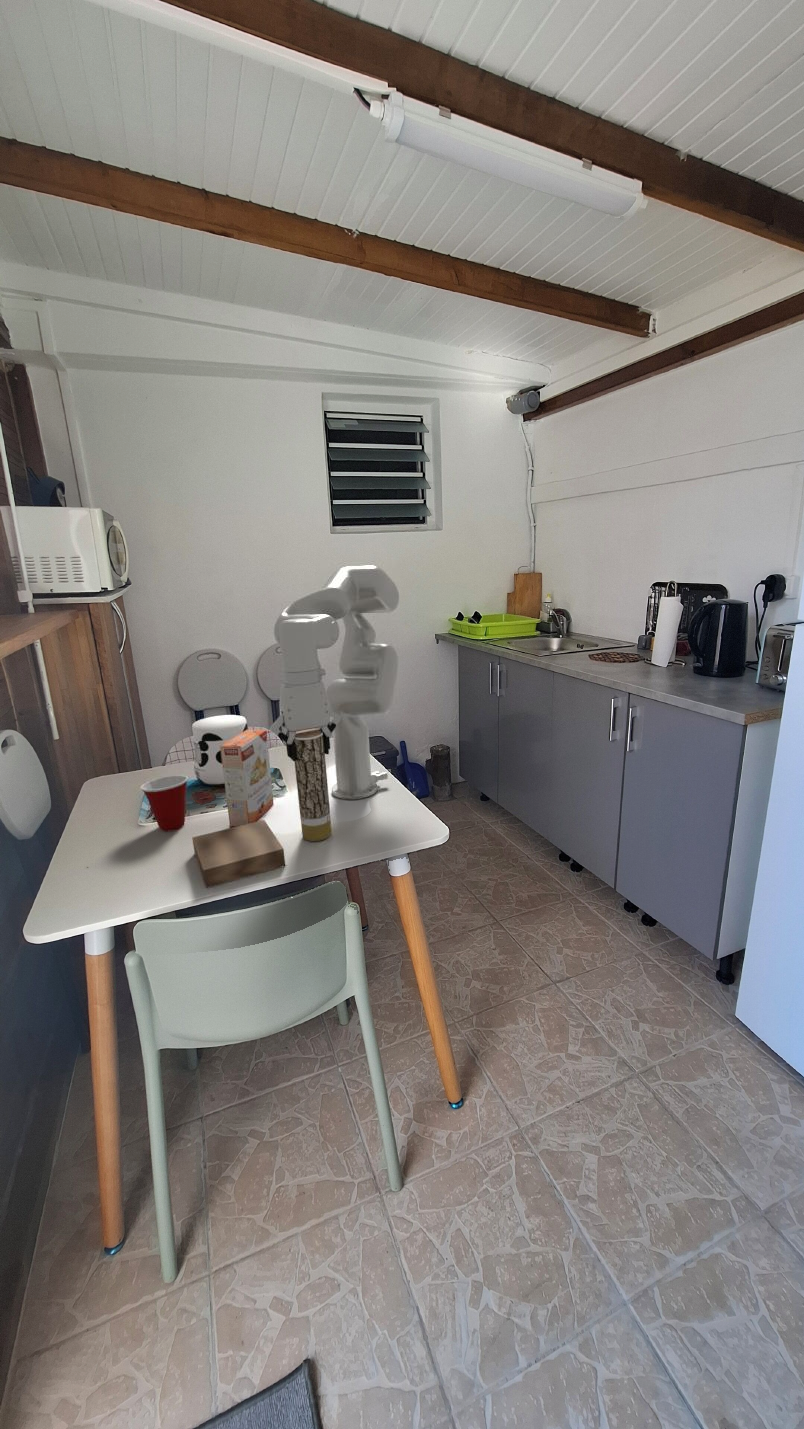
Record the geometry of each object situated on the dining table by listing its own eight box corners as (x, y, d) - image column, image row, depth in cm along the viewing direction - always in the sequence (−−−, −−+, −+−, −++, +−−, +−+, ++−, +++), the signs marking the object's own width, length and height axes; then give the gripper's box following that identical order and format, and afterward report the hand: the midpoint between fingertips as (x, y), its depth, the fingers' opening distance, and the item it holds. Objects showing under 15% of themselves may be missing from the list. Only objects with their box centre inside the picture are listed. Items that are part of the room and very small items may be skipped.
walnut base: (266, 835, 130) (264, 819, 129) (285, 865, 117) (283, 848, 116) (194, 853, 123) (192, 837, 122) (206, 888, 110) (203, 870, 109)
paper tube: (307, 845, 125) (296, 739, 118) (298, 833, 130) (287, 731, 124) (336, 837, 128) (327, 733, 121) (326, 826, 133) (316, 726, 127)
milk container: (266, 770, 173) (260, 714, 168) (238, 792, 157) (230, 731, 152) (216, 767, 177) (209, 713, 172) (184, 789, 161) (175, 729, 156)
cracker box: (251, 828, 134) (241, 746, 129) (229, 827, 136) (217, 745, 130) (275, 804, 148) (267, 728, 142) (254, 803, 149) (245, 728, 143)
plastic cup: (183, 812, 145) (176, 769, 142) (202, 824, 137) (195, 779, 134) (141, 827, 138) (132, 782, 135) (158, 840, 130) (150, 793, 127)
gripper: (333, 669, 126) (339, 744, 131) (257, 680, 118) (266, 759, 123) (346, 674, 120) (352, 753, 124) (266, 686, 112) (275, 769, 117)
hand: (309, 755), depth 124 cm, fingers closed on paper tube, 6 cm apart
